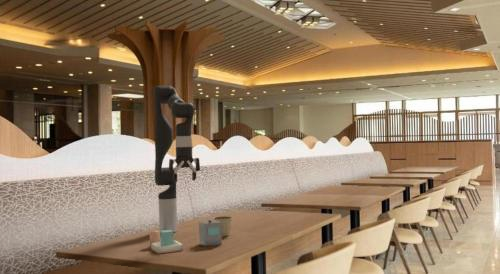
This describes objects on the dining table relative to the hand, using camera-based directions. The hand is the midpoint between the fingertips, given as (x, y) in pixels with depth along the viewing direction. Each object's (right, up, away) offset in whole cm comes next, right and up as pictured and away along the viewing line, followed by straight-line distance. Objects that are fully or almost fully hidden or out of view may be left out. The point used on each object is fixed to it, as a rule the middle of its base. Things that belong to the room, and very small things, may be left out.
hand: (184, 181), depth 237 cm
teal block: (-6, -27, -16) cm, 32 cm away
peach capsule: (-12, -29, -9) cm, 32 cm away
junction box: (+12, -28, -7) cm, 31 cm away
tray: (-6, -28, -16) cm, 33 cm away
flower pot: (+17, -28, +14) cm, 36 cm away
